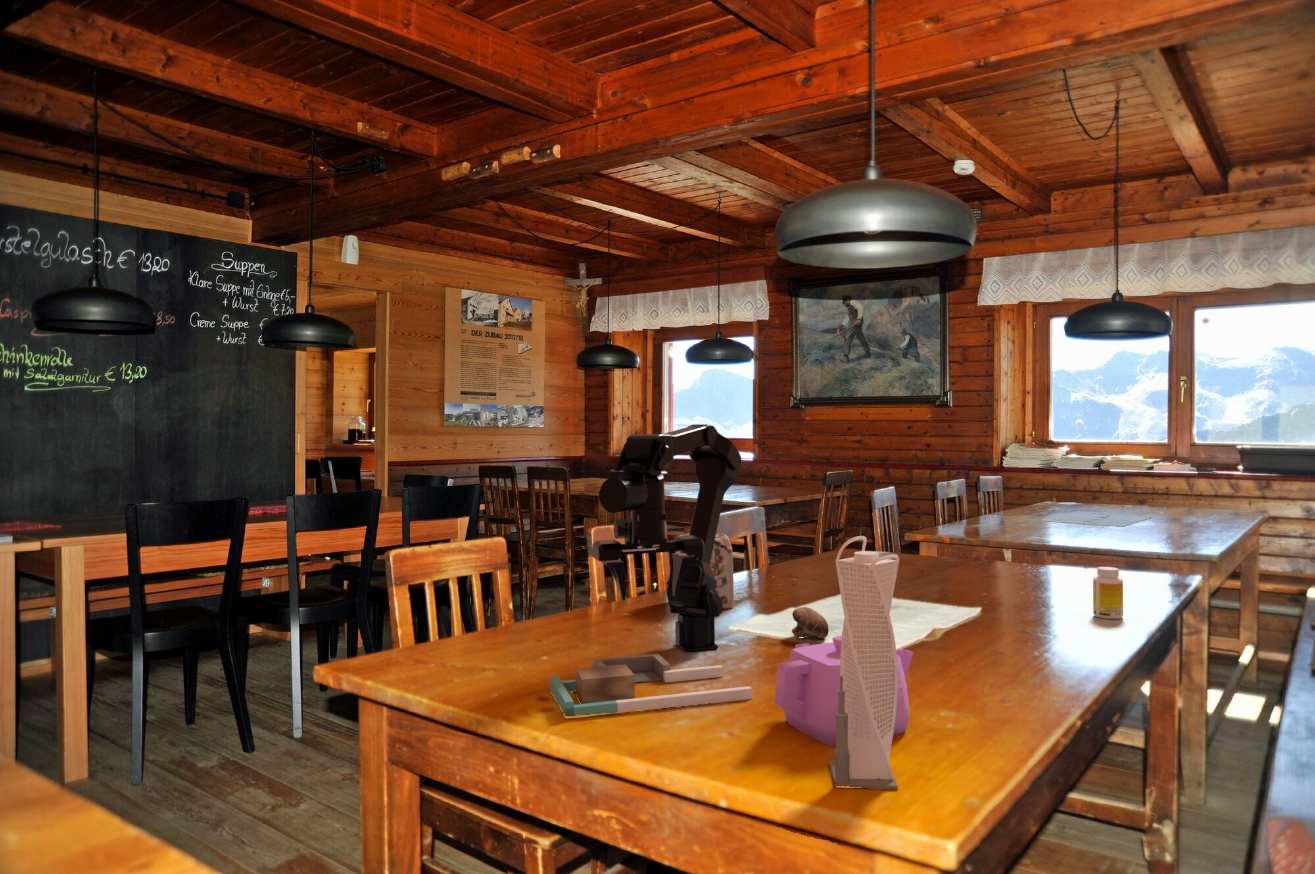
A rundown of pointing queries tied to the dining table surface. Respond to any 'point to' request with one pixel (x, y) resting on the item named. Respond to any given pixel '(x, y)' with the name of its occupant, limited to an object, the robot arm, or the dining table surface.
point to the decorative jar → (722, 569)
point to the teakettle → (825, 689)
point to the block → (604, 683)
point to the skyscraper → (866, 671)
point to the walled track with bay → (648, 671)
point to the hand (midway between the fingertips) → (649, 597)
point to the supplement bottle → (1108, 593)
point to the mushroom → (809, 623)
